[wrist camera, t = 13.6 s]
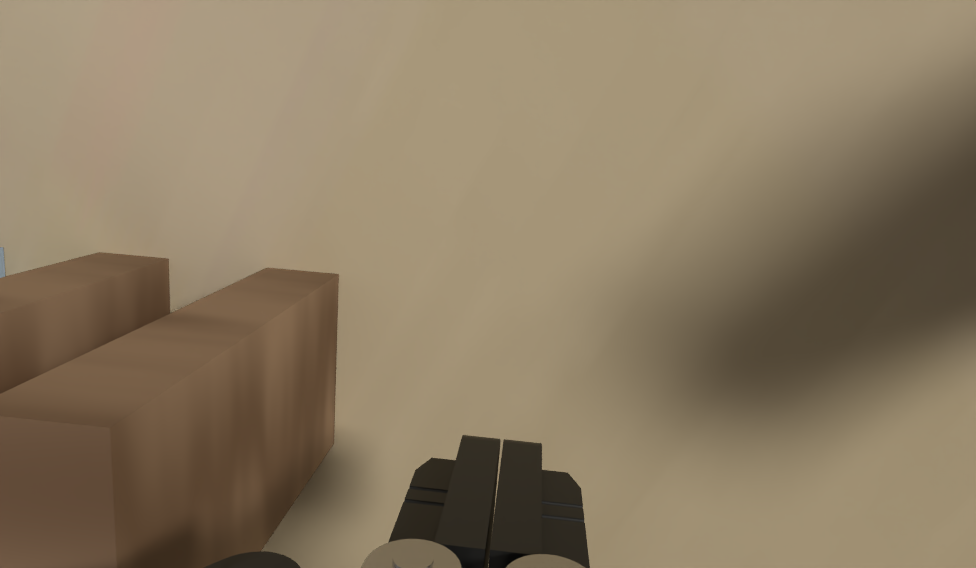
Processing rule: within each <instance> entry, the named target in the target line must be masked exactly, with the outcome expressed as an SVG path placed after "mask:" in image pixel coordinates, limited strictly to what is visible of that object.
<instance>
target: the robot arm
mask: <svg viewBox="0 0 976 568" xmlns="http://www.w3.org/2000/svg"><path fill="white" fill-rule="evenodd" d="M499 452H500V439H494V438H485V437H476V436H467V435H463V436H462V439H461V443H460V447H459V450H458V454H457V458H456V460H447V459H438V458H431V459H430V460H428V461H427V462H426V463H424V464H423V465H422V466H420V467H419V468H418V469H416V470H415V473H414V476H413V478H412V481H411V484H410V488H409V489H408V492H407V494H406V497H405V501H404V502H403V505H402V508H401V510H400V513H399V515H398V518H397V521H396V523H395V526H394V529H393V531H392V534H391V537H390V539H389V542H388V543H386V544H384V545H381V546H379V547H378V548H376V549H375V550H373V551H372V552H371V553H370V554H369V555H368V556H367V558H366V559H365V561H364V563H363V565H362V566H361V568H590V566H589V557H588V548H587V539H586V530H585V523H584V512H583V503H582V494H581V488H580V487H579V486H578V484H577V483H576V482H575V481H574V480H573V478H572V477H571V476H570V475H569V474H568V473H565V472H556V471H547V470H542V444H541V443H532V442H523V441H514V440H505V439H504V442H503V450H502V458H501V466H500V474H499V482H498V490H497V498H496V506H495V496H496V485H497V474H498V463H499ZM494 507H495V514H494ZM493 518H494V522H493ZM492 528H493V530H492ZM489 555H490V556H489ZM488 563H489V567H488ZM204 568H300V566H299V565H298V564H297V563H296V562H295V561H293V560H292V559H290V558H288V557H286V556H284V555H281V554H277V553H272V552H248V553H241V554H237V555H234V556H230V557H228V558H225V559H222V560H220V561H218V562H215V563H213V564H211V565H208V566H206V567H204Z"/></svg>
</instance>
